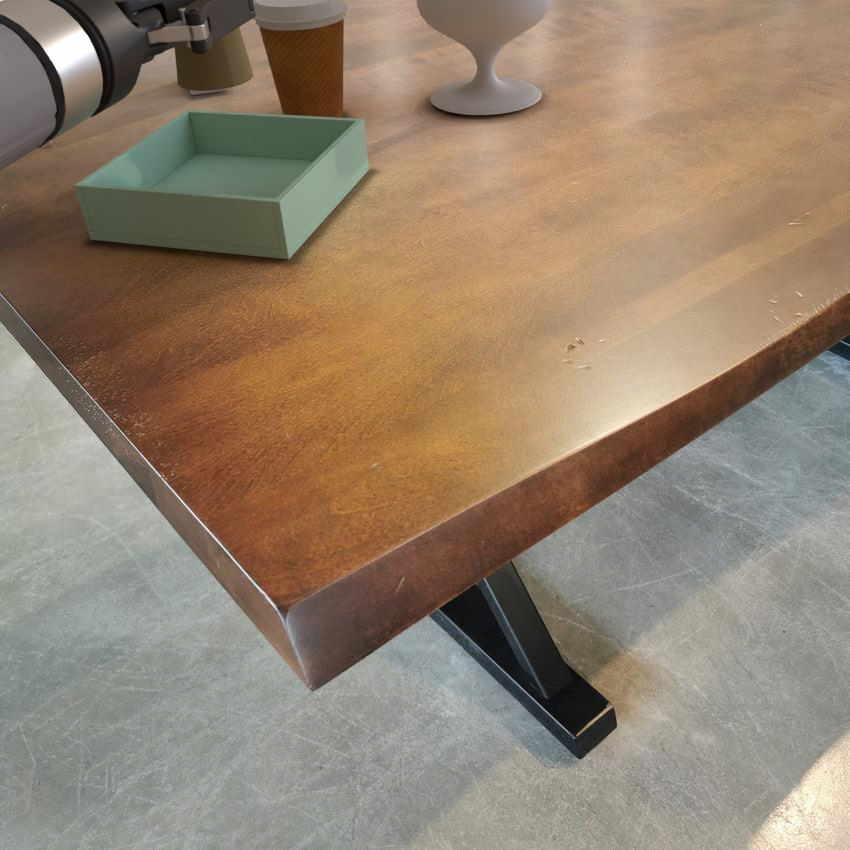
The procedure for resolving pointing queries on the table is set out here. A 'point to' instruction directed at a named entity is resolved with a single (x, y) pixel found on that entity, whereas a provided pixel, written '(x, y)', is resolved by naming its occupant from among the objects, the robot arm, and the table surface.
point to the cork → (214, 65)
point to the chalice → (484, 51)
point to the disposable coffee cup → (305, 53)
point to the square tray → (226, 182)
